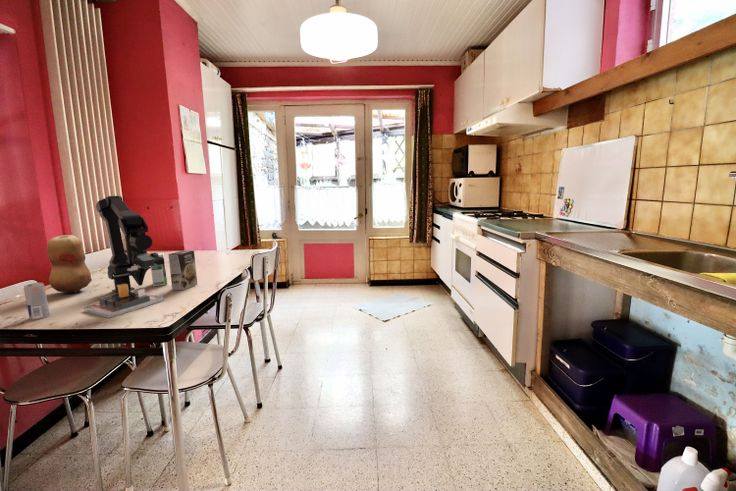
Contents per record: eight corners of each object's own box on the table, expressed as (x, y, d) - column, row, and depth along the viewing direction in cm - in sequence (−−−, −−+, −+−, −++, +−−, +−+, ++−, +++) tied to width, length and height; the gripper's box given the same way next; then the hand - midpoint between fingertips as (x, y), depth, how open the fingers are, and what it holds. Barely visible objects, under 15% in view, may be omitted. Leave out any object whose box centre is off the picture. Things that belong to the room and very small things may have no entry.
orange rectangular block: (118, 296, 134) (116, 285, 133) (125, 294, 136) (124, 283, 135) (122, 297, 133) (120, 286, 132) (129, 295, 135) (127, 284, 134)
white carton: (38, 314, 127) (32, 282, 125) (54, 313, 128) (48, 282, 125) (25, 320, 122) (18, 287, 120) (41, 319, 122) (35, 286, 120)
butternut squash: (51, 299, 144) (40, 239, 139) (52, 292, 154) (41, 236, 149) (94, 292, 153) (84, 235, 148) (92, 285, 163) (83, 232, 158)
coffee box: (184, 290, 153) (180, 254, 150) (171, 289, 154) (167, 254, 151) (198, 284, 162) (194, 250, 159) (186, 283, 163) (182, 249, 160)
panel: (84, 311, 130) (81, 294, 129) (139, 295, 147) (137, 280, 146) (108, 318, 123) (105, 300, 121) (163, 300, 140) (161, 285, 139)
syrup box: (153, 286, 159) (148, 255, 157) (153, 283, 164) (149, 253, 162) (167, 284, 162) (163, 254, 159) (167, 281, 167) (164, 252, 164)
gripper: (120, 253, 125) (127, 295, 128) (170, 244, 141) (175, 281, 144) (104, 250, 130) (110, 291, 133) (153, 242, 146) (158, 278, 149)
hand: (140, 285), depth 140 cm, fingers closed
